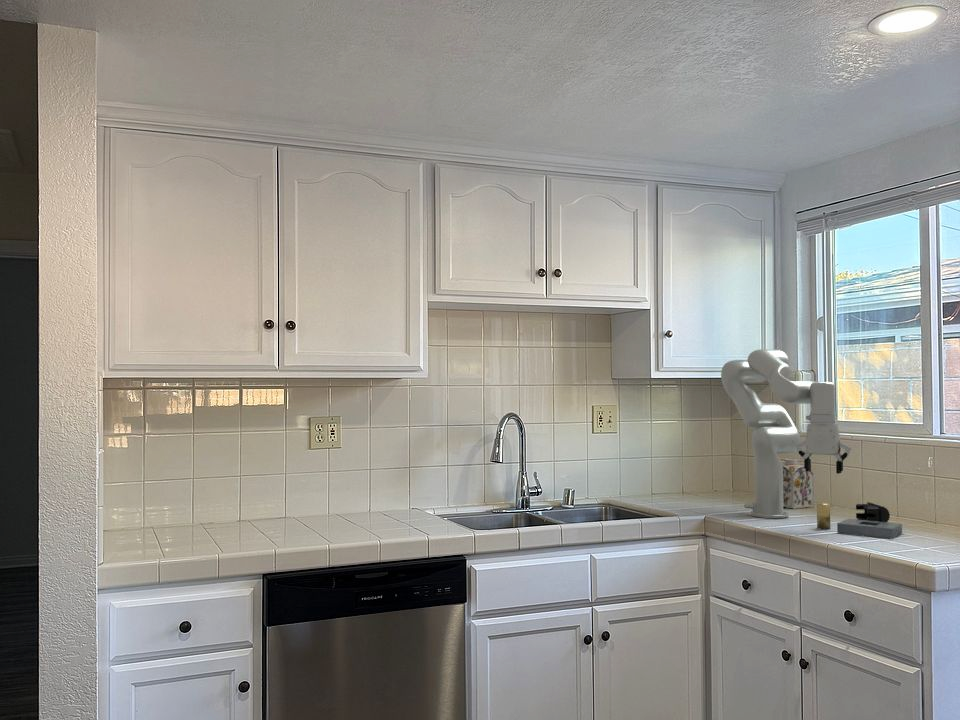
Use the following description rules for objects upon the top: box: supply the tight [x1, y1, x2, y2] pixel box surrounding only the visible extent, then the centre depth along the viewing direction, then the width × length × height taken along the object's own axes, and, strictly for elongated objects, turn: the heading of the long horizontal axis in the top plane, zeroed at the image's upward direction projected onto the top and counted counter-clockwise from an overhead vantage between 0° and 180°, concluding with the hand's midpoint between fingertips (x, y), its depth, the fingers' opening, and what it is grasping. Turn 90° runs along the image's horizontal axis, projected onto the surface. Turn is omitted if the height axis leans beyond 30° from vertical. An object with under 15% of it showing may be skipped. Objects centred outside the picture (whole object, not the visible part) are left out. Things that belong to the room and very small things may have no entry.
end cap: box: [855, 501, 891, 522], centre depth 281 cm, size 10×7×7 cm
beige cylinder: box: [816, 502, 831, 530], centre depth 273 cm, size 4×4×8 cm
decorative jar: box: [782, 458, 815, 510], centre depth 322 cm, size 12×12×18 cm
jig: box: [836, 518, 903, 539], centre depth 264 cm, size 16×12×3 cm
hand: (823, 472), depth 273 cm, fingers open, 9 cm apart
